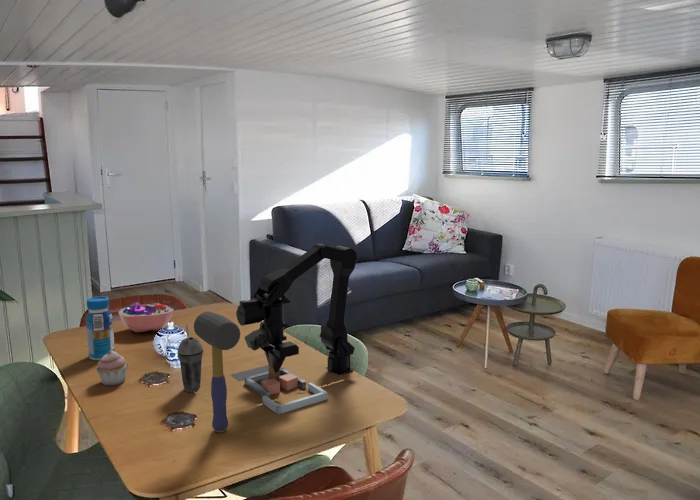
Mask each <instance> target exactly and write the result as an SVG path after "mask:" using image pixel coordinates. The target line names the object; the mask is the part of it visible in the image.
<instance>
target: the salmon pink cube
mask: <svg viewBox="0 0 700 500" xmlns="http://www.w3.org/2000/svg"><path fill="white" fill-rule="evenodd" d="M294 375H295V374H294ZM294 375H292V374H290V373H289V374H286V375H283V376H280V377H279V383H280V389H281V388H282V389H283V390H285V391H290V390H292V389H295V388H298V387H299V386H298V377H299V376H298V377H296V376H297V375H296V376H294Z"/></svg>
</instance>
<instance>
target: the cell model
mask: <svg viewBox="0 0 700 500" xmlns="http://www.w3.org/2000/svg"><path fill="white" fill-rule="evenodd" d="M173 313H174V308H172V307H170V306H168V305H166V304H160V303H149V304H141V303H140V302H139V301H135V302H133V303H132V304H130V305H129V306H127V307H123V308H121V309H120V310H118V313H117V314H118V315H119V317H120V319H121V322H122V323H123V325H124V326H125V327H127V328H128V329H129V330H131V331H133V332H135V333H142V332H149V331H154V332H155V331H160V330H162V329H163V328H164V327H165V326H167V324H168V323H169V322H170V320H171V319H172V316H173ZM161 328H162V329H161ZM159 329H160V330H159Z"/></svg>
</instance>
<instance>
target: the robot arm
mask: <svg viewBox="0 0 700 500" xmlns="http://www.w3.org/2000/svg"><path fill="white" fill-rule="evenodd" d="M324 259H327V260H329V265H330V267H331V270H332V271H331V272H332V274H333V275H332V276H333V277H332V283H331V284H332V286H331V292H330V293H331V295H330V302H329V303H330V304H329V313H328V320H327V321H326V323H325V324H321V325H320V334H319V337H320V342H321V343H322V344H323V345H324V347H325V350H326V351H329V352H328V357H327V367H325V369H326V370H327V371H329V372H330V373H333V374H336V375H339V376H340V375H344V374H346V373H347V374H348V373H351V372H353V371H354V368H352V367H351V355H353V354H354V352H355V346H354V345H353V344H351V343H350V342H349V341H348V338H349V337H348V329H347V326H346V323H345V319H346V317H345V316H346V308H347V300H348V291H349V281H350V276H351V275H352V273H353V272H354V270H355V268H356V264H357V261H358V253H357V252H356V250H355V249H353V248H351V247H346V246H342V245H336V246H334V247H332V246H328V245H327V244H323V243H316V244H314V245H313V246H312V247H311V248H310V249H308V250H307V251H305V253H303V254H301V255H300V256H299V257H298V258H296V259H294V261H292V262H291V263H289V264H288V265H287V266H285V267H284V268H282V269H278V270H275V271H272V272H270V273H268V274H266V275H265V276H263V277H262V278H261V279H260V280H259V281H260V282H259V285H258V288H257V289H256V291H255V292H254V294H253V295H252V299H249V300H239V305H238V306H237V307H236V308H237V309H236V311H235V313H236V315H235V316H236V319H237V323H238V325H240V326H243V327H244V326H247V325H254V324H258V323H259V328H258V329H256V330H252V332H250V333H249V334H247V335H245V336H244V340H245V344H246V345H247V347H248V348H250V350H252V351H257V350H259V349H261V350H262V351H263V352H264V355H265V358H266V361H267V362H268V364H267V365H269V354H271V355H272V356H273V363H274V370H275V372H279V370H280V368H282V366H283V363H284V362H285V359H286V358H288V357H293V356H296V355H299V354H300V351H299V350H300V346H298V344H295V343H294V342H292V341H287V336H286V335H285V333H284V329H285V328H286V327H287V322H285V321H284V305H285V304H289V303H291V300H290V299H288V298H287V297H286V294H287V292H288V291H289V290H290V289H291V288H292V286H293V284H294V282H295V281H296V280H298V279H299V278H300V277H301V276H303V275H305V273H307V272H308V271H310V270H311V269H312V268H314V267H315V266H316V265H317V264H319V263H320V262H321V261H322V260H324ZM265 295H266V296H265ZM319 337H318V338H319ZM283 341H286V342H283ZM271 350H274V351H271ZM269 351H270V352H269Z"/></svg>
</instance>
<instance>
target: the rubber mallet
mask: <svg viewBox="0 0 700 500" xmlns="http://www.w3.org/2000/svg"><path fill="white" fill-rule="evenodd" d="M193 331H194V333H195V335H196V336H198V338H200V339H201V340H202V341H204V342H205V343H206V344H208V345H210V346H211V356H212V358H211V359H212V360H211V362H212V376H211V384H210V385H211V386H210V394H211V396H210V397H211V401H212V416H213V417H212V422H211V426H212V428H213V430H214V432H215V433H224V432H225V431H226V430H227V428H228V426H229V420H228V415H227V397H228V391H227V383H226V382H227V381H226V376H225V374H224V363H223V362H224V359H223V351H228V350H231V349H233V348H234V347H236V346H237V344H238V343H239V341H240V338H241V330H240V328H239V326H238V324H236V323H235V322H234V321H232V320H231V319H229V318H228V317H225V316H224V315H221V314H218V313H215V312H212V311H203V312H202V313H200V314H199V315H198V316H197V317H196V318H195V320H194V322H193Z"/></svg>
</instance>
